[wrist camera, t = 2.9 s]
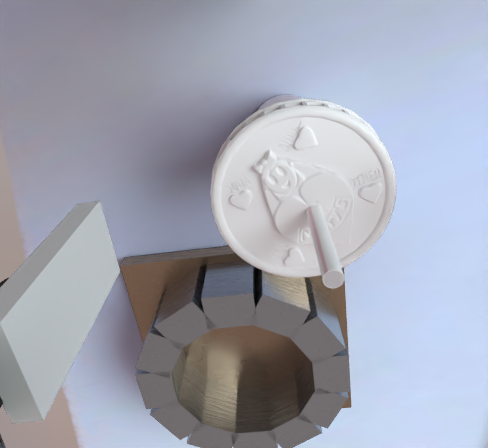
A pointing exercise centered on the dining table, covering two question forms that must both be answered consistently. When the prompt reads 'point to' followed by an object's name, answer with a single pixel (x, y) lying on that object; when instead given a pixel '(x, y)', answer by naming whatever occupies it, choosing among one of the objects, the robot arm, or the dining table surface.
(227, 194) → the smoothie
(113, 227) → the dining table surface
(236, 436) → the stone fire pit ring
